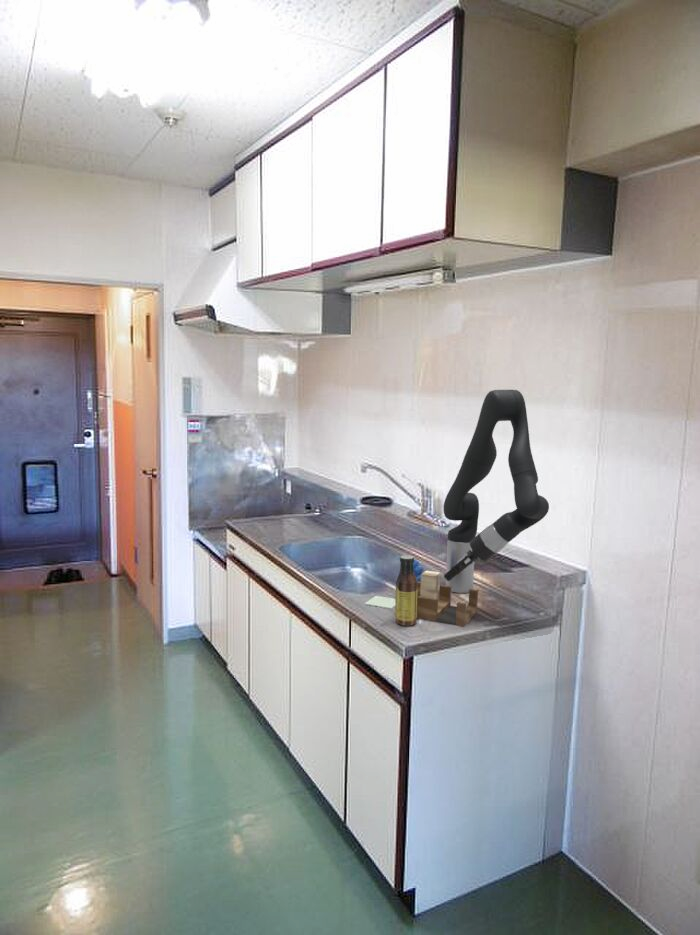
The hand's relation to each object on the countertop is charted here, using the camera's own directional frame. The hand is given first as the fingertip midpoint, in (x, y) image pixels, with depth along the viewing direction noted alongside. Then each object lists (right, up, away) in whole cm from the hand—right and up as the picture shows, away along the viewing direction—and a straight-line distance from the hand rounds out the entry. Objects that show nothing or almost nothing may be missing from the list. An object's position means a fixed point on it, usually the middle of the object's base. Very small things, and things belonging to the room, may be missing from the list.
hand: (450, 574), depth 200 cm
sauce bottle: (-14, -13, -7) cm, 20 cm away
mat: (-19, -11, +11) cm, 25 cm away
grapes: (-9, -10, +22) cm, 25 cm away
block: (-6, -10, +4) cm, 12 cm away
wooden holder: (-4, -12, +3) cm, 13 cm away
